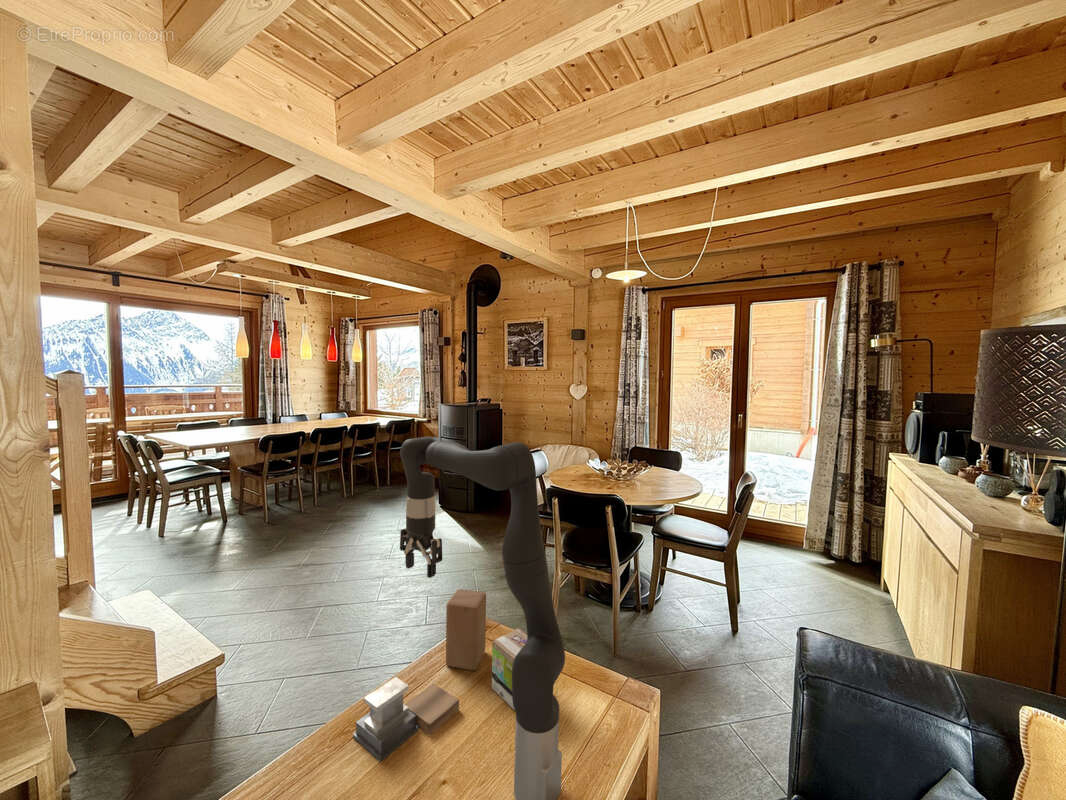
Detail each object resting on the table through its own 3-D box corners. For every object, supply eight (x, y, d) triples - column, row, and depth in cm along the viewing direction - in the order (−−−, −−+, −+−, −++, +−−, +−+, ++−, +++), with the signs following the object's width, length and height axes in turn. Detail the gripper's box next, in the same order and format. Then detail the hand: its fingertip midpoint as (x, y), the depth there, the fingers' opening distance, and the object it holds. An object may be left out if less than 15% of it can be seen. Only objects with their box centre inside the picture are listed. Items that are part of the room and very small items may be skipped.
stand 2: (458, 710, 114) (459, 699, 114) (429, 736, 106) (429, 724, 105) (433, 693, 120) (433, 683, 119) (403, 716, 111) (403, 705, 111)
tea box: (490, 689, 122) (491, 639, 121) (517, 673, 128) (518, 626, 127) (524, 722, 110) (525, 667, 110) (552, 703, 117) (554, 651, 116)
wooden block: (475, 672, 128) (476, 607, 127) (444, 667, 130) (445, 603, 129) (486, 651, 138) (487, 591, 137) (456, 646, 140) (457, 587, 139)
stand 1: (418, 730, 107) (418, 715, 107) (380, 762, 98) (380, 745, 98) (391, 709, 114) (391, 695, 113) (353, 737, 105) (352, 722, 104)
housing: (376, 736, 101) (376, 707, 100) (364, 725, 103) (364, 697, 103) (408, 711, 108) (408, 685, 107) (395, 702, 111) (395, 676, 110)
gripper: (392, 510, 115) (391, 569, 116) (427, 522, 106) (427, 585, 107) (414, 503, 121) (414, 559, 122) (450, 514, 113) (449, 574, 114)
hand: (420, 571), depth 115 cm, fingers open, 8 cm apart
